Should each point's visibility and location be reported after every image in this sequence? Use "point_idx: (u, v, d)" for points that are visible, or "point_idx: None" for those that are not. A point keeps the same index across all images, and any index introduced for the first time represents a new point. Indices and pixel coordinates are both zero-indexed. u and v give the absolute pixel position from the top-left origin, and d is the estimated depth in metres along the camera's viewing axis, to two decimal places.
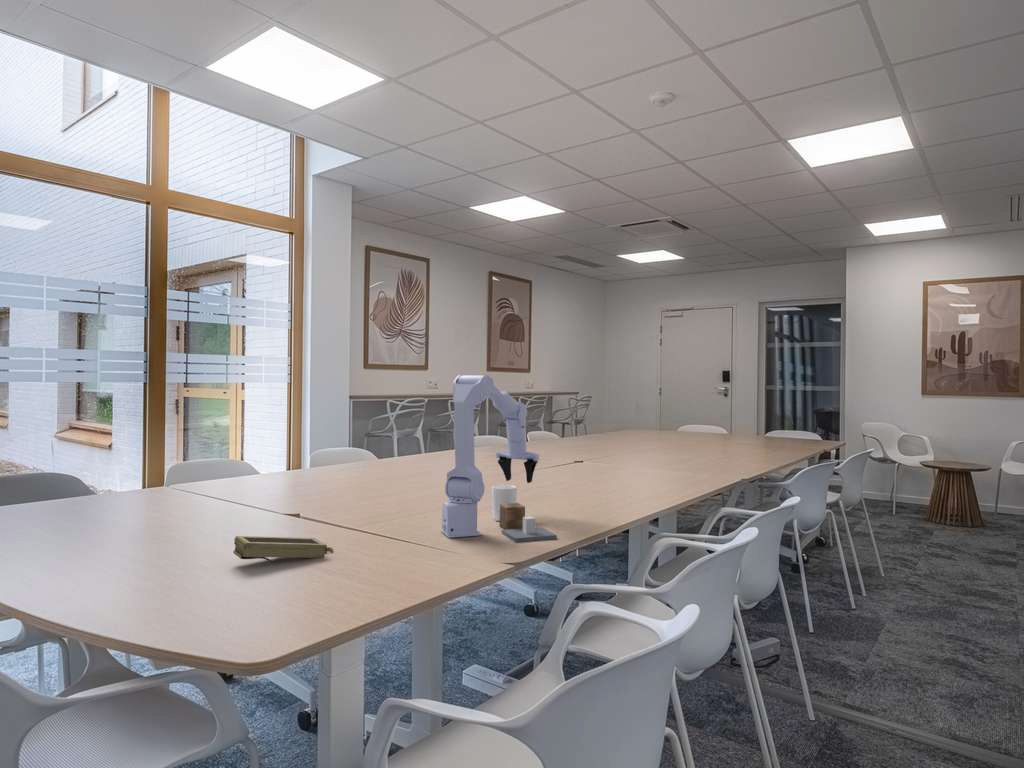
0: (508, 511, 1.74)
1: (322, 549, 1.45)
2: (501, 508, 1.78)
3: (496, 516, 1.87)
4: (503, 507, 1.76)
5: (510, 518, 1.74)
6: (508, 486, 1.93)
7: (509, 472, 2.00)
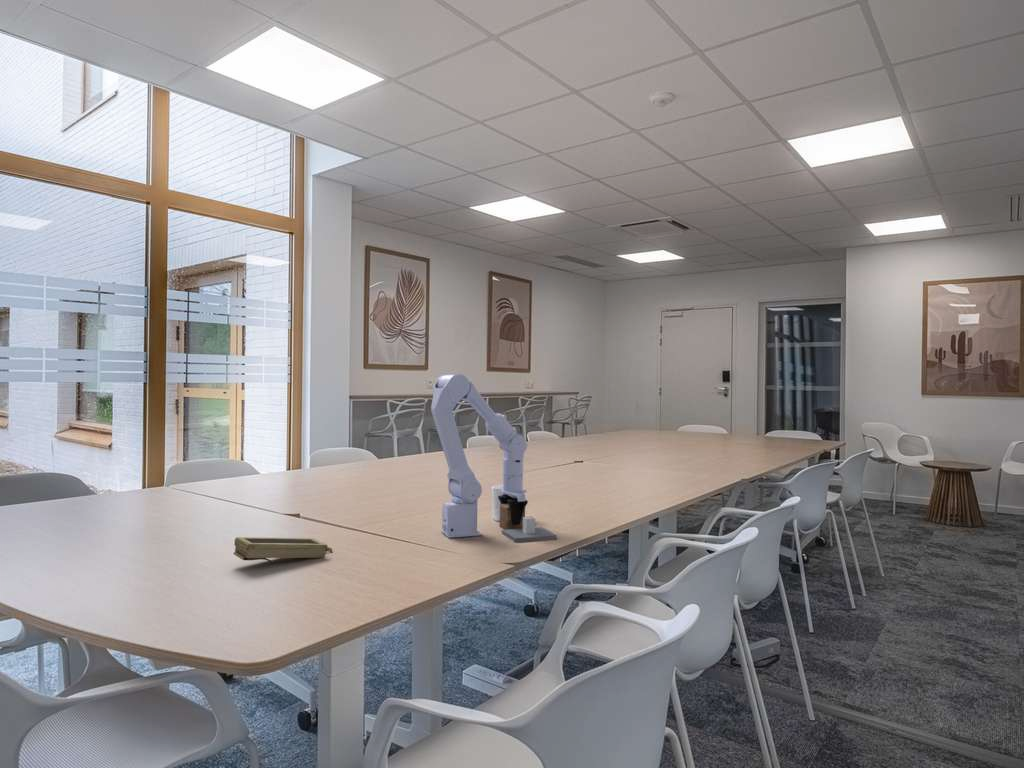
0: (508, 511, 1.74)
1: (323, 549, 1.45)
2: (501, 508, 1.78)
3: (496, 516, 1.87)
4: (503, 507, 1.76)
5: (510, 518, 1.74)
6: None
7: None
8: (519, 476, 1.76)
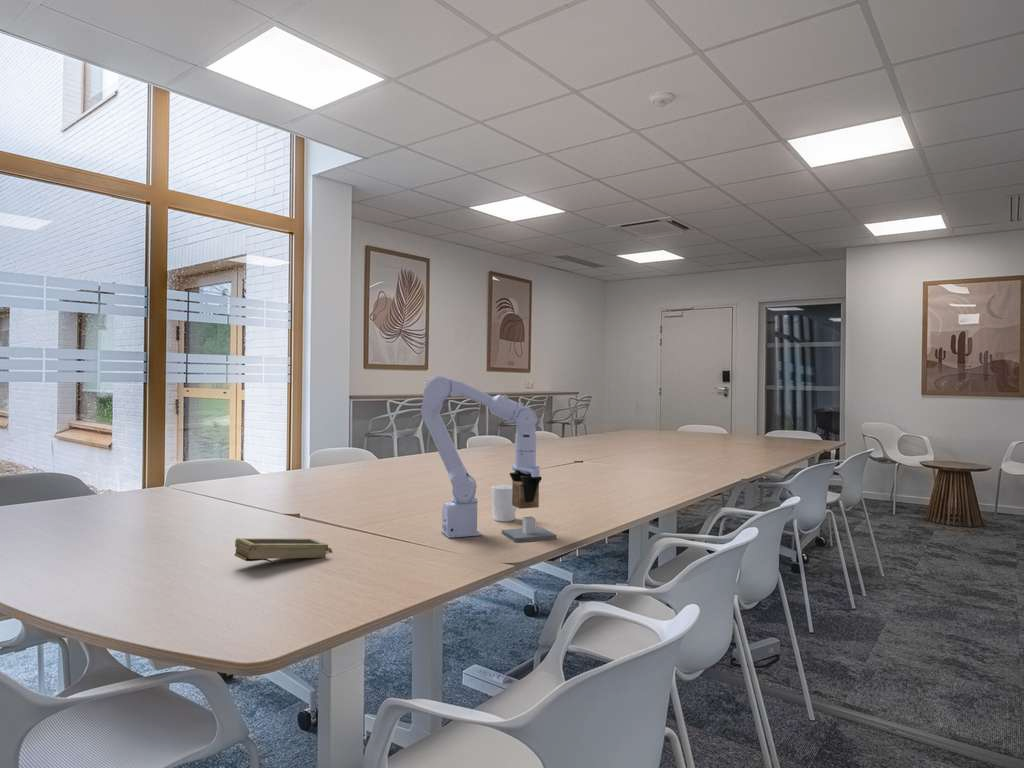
0: (521, 488, 1.68)
1: (323, 549, 1.45)
2: (514, 485, 1.71)
3: (496, 516, 1.87)
4: (516, 484, 1.70)
5: (524, 495, 1.68)
6: (508, 486, 1.93)
7: None
8: (532, 451, 1.69)
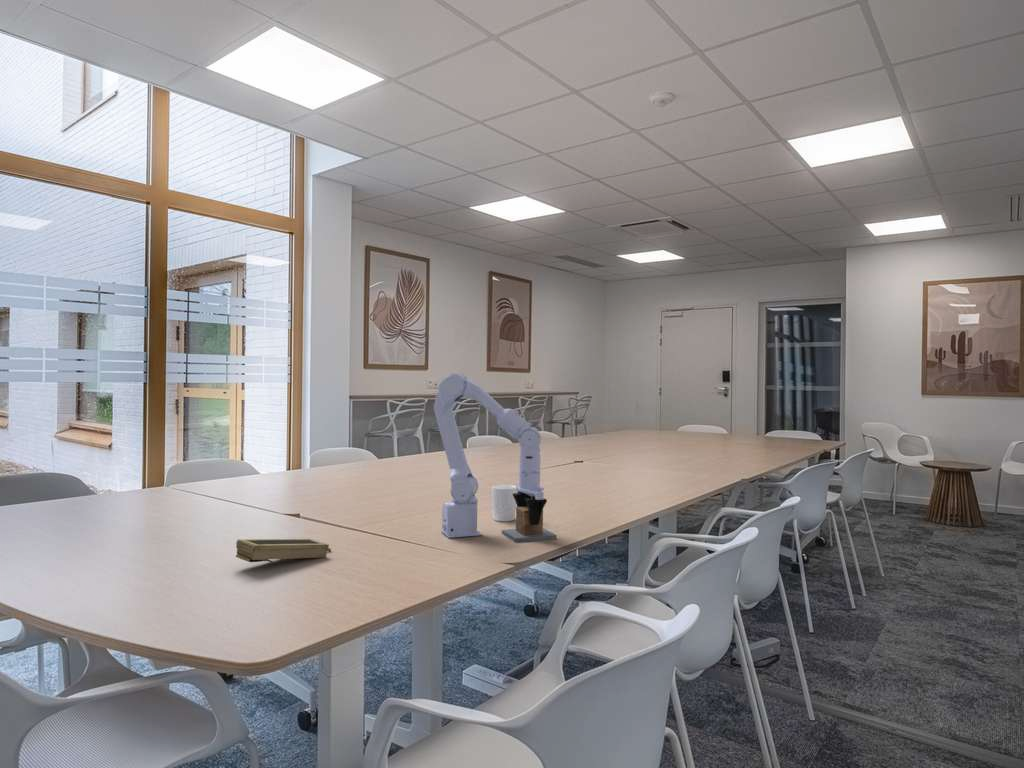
0: (525, 515, 1.65)
1: (324, 549, 1.45)
2: (517, 511, 1.69)
3: (496, 516, 1.87)
4: (520, 510, 1.68)
5: (527, 522, 1.66)
6: (508, 486, 1.93)
7: None
8: (536, 473, 1.67)
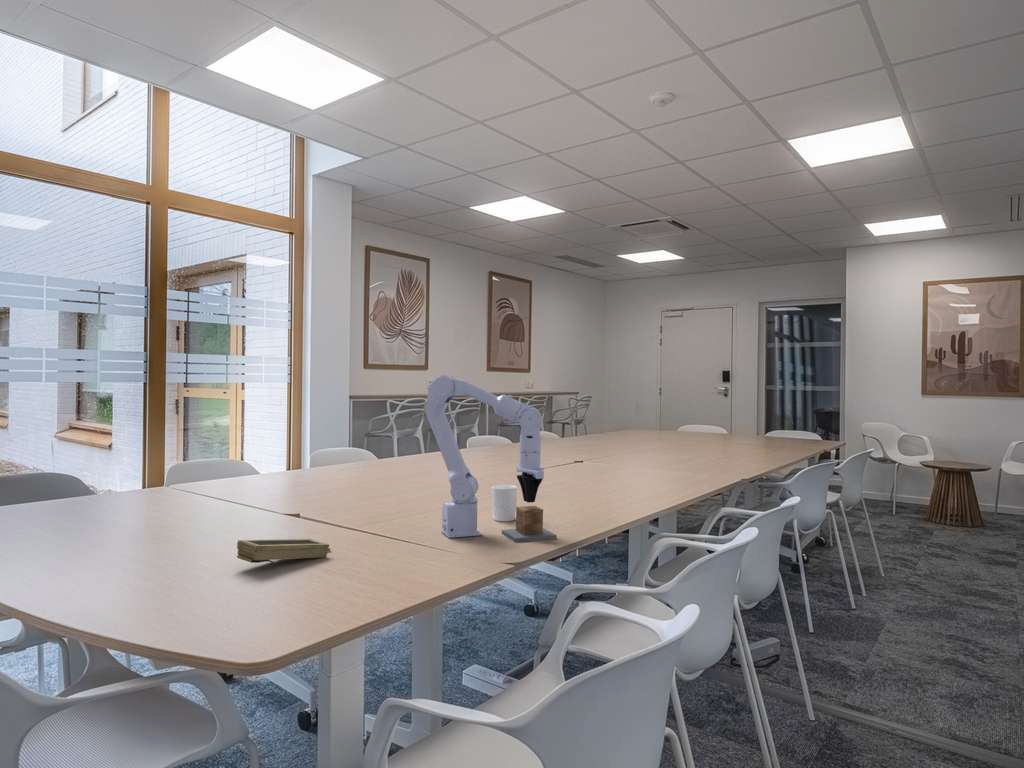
0: (525, 515, 1.65)
1: (325, 549, 1.45)
2: (517, 511, 1.69)
3: (496, 516, 1.87)
4: (520, 510, 1.68)
5: (527, 522, 1.66)
6: (508, 486, 1.93)
7: None
8: (537, 453, 1.67)
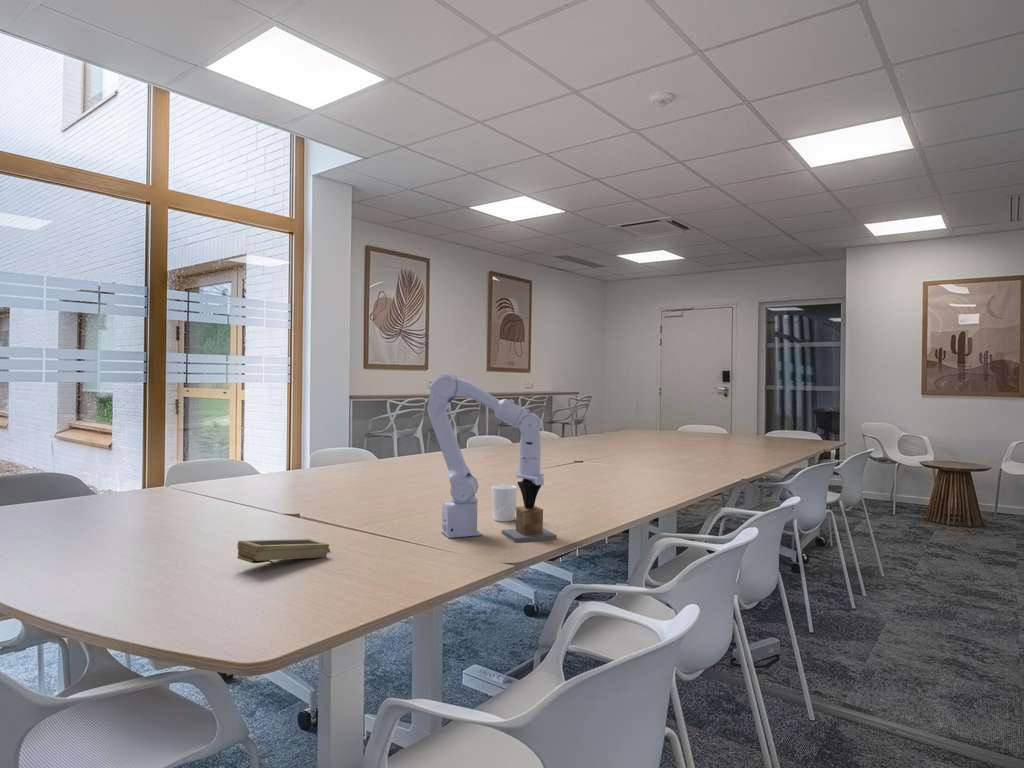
0: (525, 515, 1.65)
1: (325, 549, 1.45)
2: (517, 511, 1.69)
3: (496, 516, 1.87)
4: (520, 510, 1.68)
5: (527, 522, 1.66)
6: (508, 486, 1.93)
7: None
8: (537, 459, 1.67)
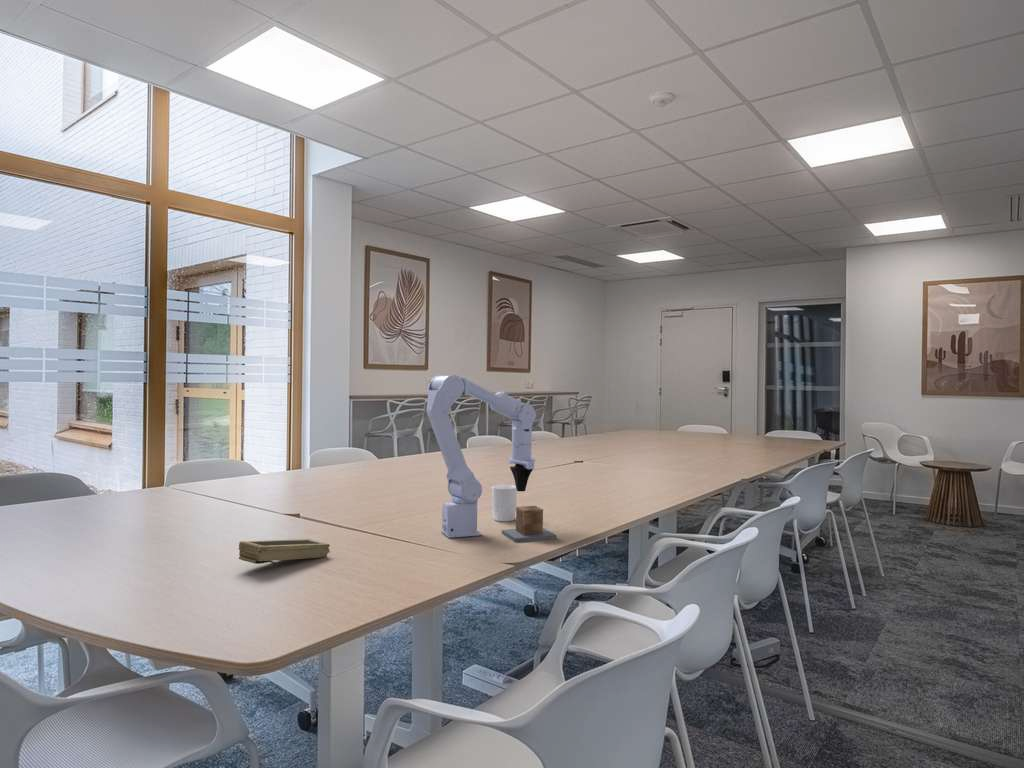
0: (525, 515, 1.65)
1: (325, 549, 1.45)
2: (517, 511, 1.69)
3: (496, 516, 1.87)
4: (520, 510, 1.68)
5: (527, 522, 1.66)
6: (508, 486, 1.93)
7: None
8: (528, 445, 1.78)
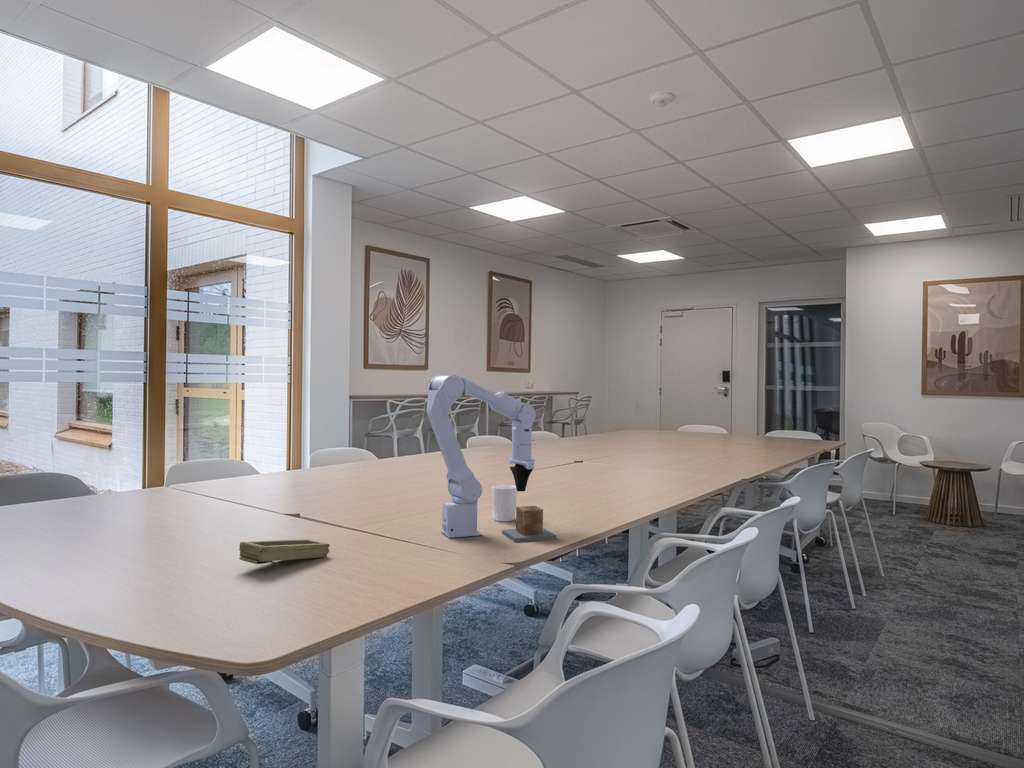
0: (525, 515, 1.65)
1: (325, 548, 1.45)
2: (517, 511, 1.69)
3: (496, 516, 1.87)
4: (520, 510, 1.68)
5: (527, 522, 1.66)
6: (508, 486, 1.93)
7: None
8: (528, 445, 1.78)
